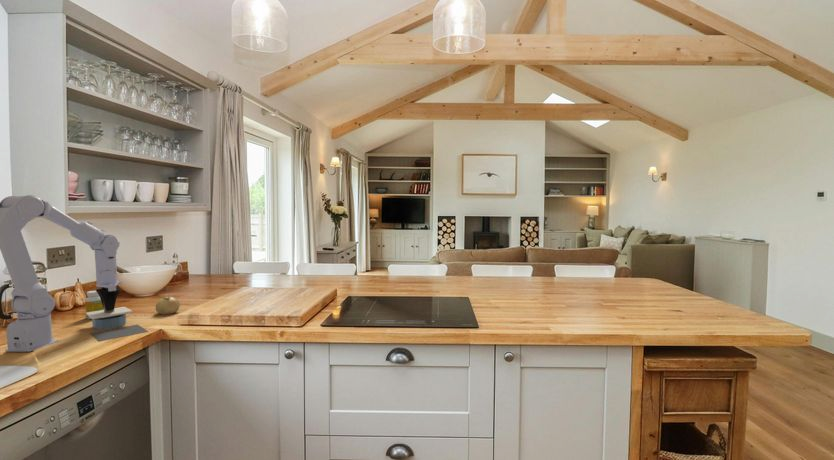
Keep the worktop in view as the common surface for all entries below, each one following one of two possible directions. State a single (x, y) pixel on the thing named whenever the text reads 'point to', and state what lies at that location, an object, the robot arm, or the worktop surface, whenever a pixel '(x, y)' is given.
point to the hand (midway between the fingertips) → (108, 309)
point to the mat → (118, 332)
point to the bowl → (109, 322)
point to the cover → (108, 312)
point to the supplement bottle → (93, 302)
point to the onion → (167, 305)
